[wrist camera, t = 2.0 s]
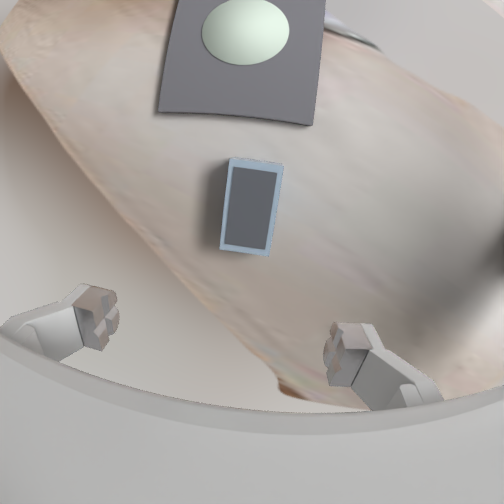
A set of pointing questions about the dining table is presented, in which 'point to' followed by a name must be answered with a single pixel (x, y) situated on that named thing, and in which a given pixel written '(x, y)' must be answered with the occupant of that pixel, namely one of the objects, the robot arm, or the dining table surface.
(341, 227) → the dining table surface
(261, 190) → the phone
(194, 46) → the charging mat
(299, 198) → the dining table surface
